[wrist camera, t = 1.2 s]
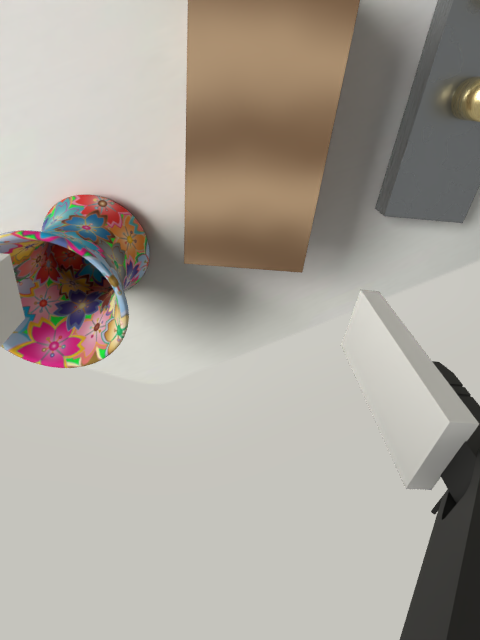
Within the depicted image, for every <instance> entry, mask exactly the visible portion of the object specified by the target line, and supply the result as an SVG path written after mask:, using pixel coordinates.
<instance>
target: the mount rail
mask: <svg viewBox="0 0 480 640" xmlns="http://www.w3.org/2000/svg"><path fill="white" fill-rule="evenodd" d="M479 185H480V0H438V2H437V5H436V9H435V12H434V15H433V19H432V22H431V25H430V29H429V32H428V35H427V39H426V42H425V45H424V49H423V52H422V55H421V58H420V62H419V65H418V68H417V72H416V75H415V78H414V82H413V85H412V88H411V92H410V95H409V98H408V102H407V105H406V108H405V111H404V115H403V118H402V121H401V125H400V128H399V131H398V135H397V138H396V141H395V145H394V148H393V151H392V155H391V158H390V161H389V165H388V168H387V171H386V174H385V178H384V181H383V184H382V188H381V191H380V194H379V198H378V201H377V204H376V208H375V209H376V210H378V211H379V212H380V213H381V214H383V215H384V216H392V217H403V218H414V219H425V220H436V221H446V222H457V223H463V221H464V219H465V217H466V214H467V212H468V210H469V208H470V205H471V203H472V201H473V199H474V196H475V194H476V192H477V190H478V187H479Z"/></svg>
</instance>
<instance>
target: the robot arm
mask: <svg viewBox="0 0 480 640" xmlns="http://www.w3.org/2000/svg"><path fill="white" fill-rule="evenodd" d="M24 319H25V316H24V311H23V307H22V303H21V299H20V295H19V290H18V286H17V282H16V278H15V273H14V269H13V265H12V261H11V257H10V254H3V253H0V347H1V346H2V345H3V343H4V342H5V341H6V340H7V339H8V338H9V336H10V335H11V334H12V333H13V332H14V331H15V330H16V328H17V327H18V326H19V325H20V324H21V323H22V321H23V320H24ZM341 346H342V348H343V351H344V353H345V355H346V357H347V360H348V362H349V364H350V366H351V368H352V371H353V372H354V375H355V377H356V379H357V382H358V384H359V386H360V388H361V391H362V393H363V395H364V397H365V399H366V402H367V404H368V406H369V408H370V410H371V413H372V415H373V417H374V419H375V422H376V423H377V426H378V428H379V430H380V433H381V435H382V436H383V439H384V441H385V444H386V446H387V448H388V450H389V452H390V455H391V457H392V459H393V461H394V464H395V466H396V468H397V470H398V472H399V475H400V477H401V479H402V481H403V484H404V486H405V488H406V489H425V490H426V489H427V490H431V489H432V488H433V487H434V485H435V484H436V483H437V481H438V480H439V479H440V477H442V479H443V481H444V483H445V484H446V486H447V488H448V490H447V491H446V492H445V494H444V495H443V496H442V498H441V499H440V500H439V502H438V503H437V504H436V505H435V507H434V508H433V509H432V511H431V512H432V513H433V514H436V512H437V511H438V514H437V517H436V520H435V523H434V527H433V530H432V534H431V537H430V540H429V544H428V547H427V550H426V554H425V557H424V560H423V564H422V567H421V571H420V574H419V577H418V580H417V584H416V587H415V590H414V594H413V597H412V601H411V604H410V607H409V611H408V614H407V617H406V621H405V624H404V627H403V631H402V634H401V637H400V640H480V406H479V405H478V403H477V402H476V401H475V400H474V398H473V397H470V393H469V392H468V391H467V390H466V388H465V387H462V383H461V382H460V381H459V380H458V378H457V377H456V376H455V375H454V373H453V372H451V371H450V370H449V369H447V368H446V367H445V366H444V365H442V364H441V363H440V362H433V361H431V359H430V358H429V357H428V355H427V354H426V353H425V351H424V350H423V349H422V348H421V346H420V345H419V344H418V342H417V341H416V340H415V338H414V337H413V336H412V334H411V333H410V332H409V331H408V329H407V328H406V327H405V325H404V324H403V323H402V321H401V320H400V319H399V317H398V316H397V315H396V313H395V312H394V311H393V309H392V308H391V307H390V305H389V304H388V303H387V301H386V300H385V299H384V297H383V296H382V295H381V293H380V292H378V291H368V290H360V293H359V296H358V299H357V302H356V304H355V307H354V310H353V313H352V316H351V318H350V321H349V324H348V327H347V330H346V333H345V335H344V338H343V341H342V344H341Z"/></svg>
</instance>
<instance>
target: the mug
mask: <svg viewBox="0 0 480 640" xmlns="http://www.w3.org/2000/svg"><path fill="white" fill-rule="evenodd" d="M0 253H3V254H10V257H11V261H12V265H13V269H14V273H15V278H16V282H17V286H18V290H19V295H20V299H21V303H22V307H23V311H24V316H25V319H24V320H23V321H22V323H21V324H20V325H19V326H18V327H17V328H16V330H15V331H14V332H13V333H12V334H11V335H10V336H9V338H8V339H7V340H6V341H5V342H4V343H3V345H2V346H1V347H2V348H4V349H5V350H7V351H9V352H11V353H12V354H14V355H16V356H18V357H20V358H23V359H25V360H27V361H30V362H33V363H37V364H40V365H45V366H50V367H58V368H74V367H82V366H86V365H90V364H93V363H96V362H98V361H100V360H102V359H104V358H105V357H107V356H108V355H110V354H111V353H112V352H113V351H114V350H115V349H116V348H117V347H118V346H119V345H120V343H121V342H122V340H123V338H124V336H125V333H126V330H127V327H128V320H129V312H128V305H127V300H126V297H125V294H124V292H123V291H125V290H127V289H129V288H131V287H132V286H134V285H135V284H136V283H137V282H138V281H139V280H140V279H141V278H142V277H143V275H144V274H145V272H146V269H147V267H148V263H149V245H148V240H147V237H146V235H145V232H144V230H143V229H142V227H141V225H140V224H139V222H138V221H137V220H136V218H135V217H134V216H133V215H132V214H131V213H130V212H129V211H127V210H126V209H125V208H124V207H122V206H121V205H119V204H117V203H116V202H114V201H112V200H109V199H107V198H104V197H100V196H95V195H76V196H71V197H68V198H66V199H63V200H62V201H60V202H58V203H57V204H56V205H54V206H53V207H52V208H51V210H50V211H49V212H48V214H47V216H46V218H45V220H44V223H43V226H42V232H39V231H12V232H7V233H3V234H0Z"/></svg>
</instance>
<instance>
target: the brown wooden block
mask: <svg viewBox="0 0 480 640" xmlns="http://www.w3.org/2000/svg"><path fill="white" fill-rule="evenodd" d="M359 2H360V0H188V32H187V100H186V168H185V235H184V263H185V264H198V265H211V266H224V267H237V268H250V269H263V270H276V271H289V272H302V271H303V266H304V262H305V257H306V252H307V247H308V243H309V238H310V233H311V229H312V224H313V219H314V214H315V210H316V205H317V200H318V196H319V191H320V186H321V182H322V177H323V172H324V167H325V163H326V158H327V153H328V149H329V144H330V139H331V134H332V130H333V125H334V120H335V116H336V111H337V106H338V101H339V97H340V92H341V87H342V83H343V78H344V73H345V68H346V64H347V59H348V54H349V50H350V45H351V40H352V35H353V31H354V26H355V21H356V17H357V12H358V7H359Z"/></svg>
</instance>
